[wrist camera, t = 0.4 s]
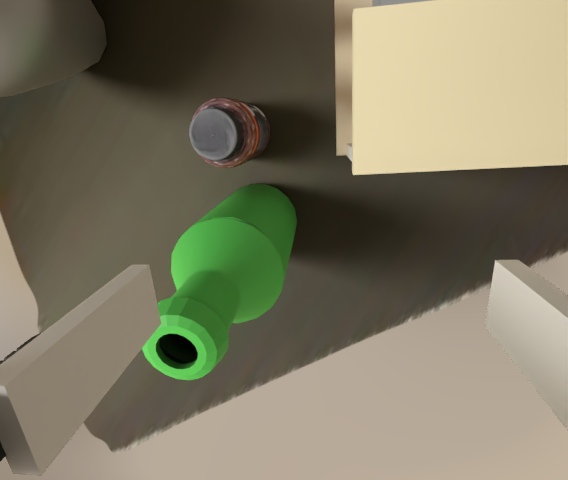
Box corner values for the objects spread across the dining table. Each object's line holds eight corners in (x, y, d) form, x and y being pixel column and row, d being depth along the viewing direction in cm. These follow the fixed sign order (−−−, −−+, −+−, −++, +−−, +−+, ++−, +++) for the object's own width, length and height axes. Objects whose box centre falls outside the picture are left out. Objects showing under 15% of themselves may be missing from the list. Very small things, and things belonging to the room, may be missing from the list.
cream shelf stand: (340, 55, 33) (353, 8, 20) (505, 40, 31) (642, -22, 18) (341, 156, 36) (353, 175, 23) (491, 148, 34) (599, 163, 21)
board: (333, -100, 30) (333, -108, 29) (526, -127, 28) (535, -138, 27) (336, 154, 37) (336, 155, 36) (491, 146, 35) (497, 146, 34)
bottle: (211, 222, 41) (64, 353, 18) (253, 166, 38) (146, 233, 15) (267, 266, 42) (200, 445, 19) (312, 215, 39) (300, 349, 16)
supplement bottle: (258, 93, 36) (232, 80, 25) (279, 147, 37) (262, 157, 27) (209, 115, 37) (164, 112, 26) (231, 167, 39) (196, 183, 28)
